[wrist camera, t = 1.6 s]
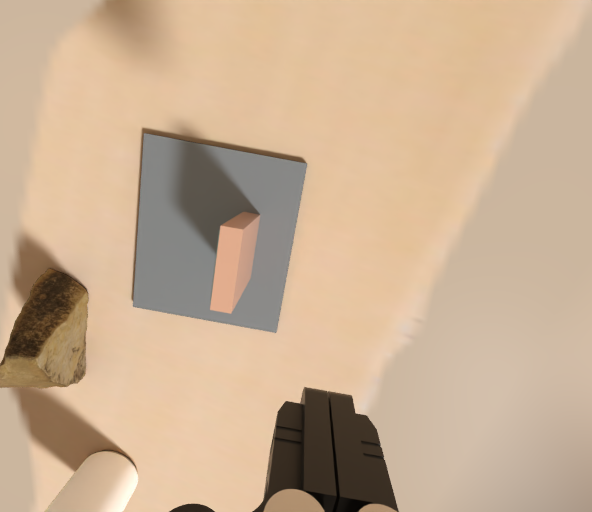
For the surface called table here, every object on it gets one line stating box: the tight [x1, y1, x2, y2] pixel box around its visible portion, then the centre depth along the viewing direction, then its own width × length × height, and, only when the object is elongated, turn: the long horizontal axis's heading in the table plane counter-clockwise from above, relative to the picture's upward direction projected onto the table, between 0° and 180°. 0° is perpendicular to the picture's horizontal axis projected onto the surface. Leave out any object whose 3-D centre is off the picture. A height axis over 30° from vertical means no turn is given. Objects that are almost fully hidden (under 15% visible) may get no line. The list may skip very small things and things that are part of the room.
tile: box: [210, 212, 260, 314], centre depth 26 cm, size 6×2×8 cm, turn 170°
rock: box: [0, 268, 88, 388], centre depth 30 cm, size 11×9×10 cm
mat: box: [133, 133, 307, 333], centre depth 30 cm, size 16×14×1 cm
